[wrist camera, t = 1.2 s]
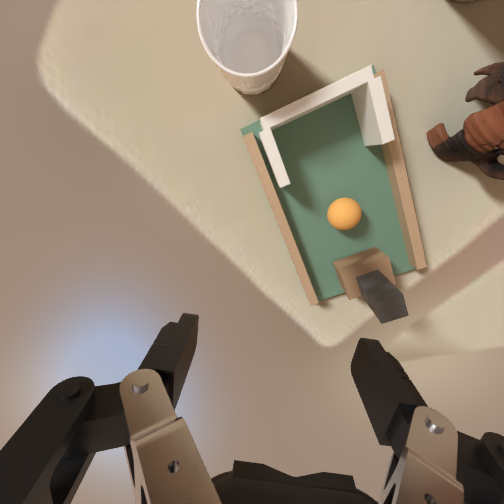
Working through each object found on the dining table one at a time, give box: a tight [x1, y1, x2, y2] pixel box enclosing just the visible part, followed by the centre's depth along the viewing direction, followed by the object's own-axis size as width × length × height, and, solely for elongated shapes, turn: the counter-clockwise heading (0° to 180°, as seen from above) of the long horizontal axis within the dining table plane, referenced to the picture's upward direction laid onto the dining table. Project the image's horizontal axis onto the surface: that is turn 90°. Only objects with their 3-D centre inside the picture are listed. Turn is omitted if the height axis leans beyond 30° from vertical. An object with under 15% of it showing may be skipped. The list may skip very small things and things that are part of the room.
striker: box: [333, 247, 408, 323], centre depth 32 cm, size 6×4×10 cm, turn 113°
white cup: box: [197, 0, 298, 95], centre depth 25 cm, size 8×8×10 cm
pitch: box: [241, 65, 427, 306], centre depth 32 cm, size 16×26×6 cm, turn 23°
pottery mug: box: [427, 62, 504, 180], centre depth 29 cm, size 12×10×8 cm
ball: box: [327, 197, 361, 230], centre depth 32 cm, size 4×4×4 cm
